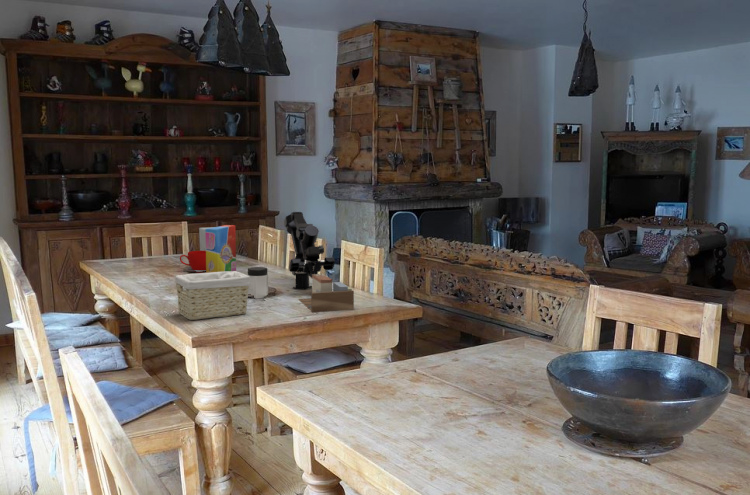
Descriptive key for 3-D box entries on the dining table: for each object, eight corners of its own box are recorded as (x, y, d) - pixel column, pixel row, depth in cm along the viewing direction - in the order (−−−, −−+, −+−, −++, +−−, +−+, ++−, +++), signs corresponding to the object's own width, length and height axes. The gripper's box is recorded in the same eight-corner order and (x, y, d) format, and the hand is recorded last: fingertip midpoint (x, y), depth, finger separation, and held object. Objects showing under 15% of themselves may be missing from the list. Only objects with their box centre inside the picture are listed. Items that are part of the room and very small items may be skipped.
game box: (217, 291, 290) (216, 229, 286) (206, 290, 291) (204, 228, 287) (236, 282, 310) (235, 224, 306) (225, 282, 311) (224, 224, 308)
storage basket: (236, 306, 259) (235, 269, 258) (252, 314, 246) (251, 275, 244) (174, 314, 246) (173, 274, 244) (188, 322, 233) (187, 281, 231)
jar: (243, 297, 277) (242, 268, 275) (255, 294, 284) (255, 266, 282) (260, 299, 272) (259, 270, 271) (272, 296, 280) (272, 268, 278)
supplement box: (228, 258, 389) (227, 228, 387) (205, 259, 383) (205, 229, 380) (221, 255, 401) (220, 226, 398) (199, 257, 394) (198, 227, 392)
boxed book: (312, 298, 270) (312, 274, 269) (323, 298, 271) (323, 273, 270) (320, 305, 257) (320, 280, 255) (332, 304, 258) (332, 279, 257)
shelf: (298, 301, 269) (297, 282, 268) (336, 299, 274) (336, 280, 273) (312, 314, 246) (312, 293, 245) (353, 311, 251) (353, 291, 250)
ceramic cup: (179, 270, 345) (179, 251, 343) (213, 269, 350) (212, 250, 348) (180, 274, 332) (179, 254, 331) (215, 272, 337) (214, 253, 336)
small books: (333, 303, 260) (333, 282, 259) (344, 303, 262) (344, 281, 261) (340, 309, 251) (340, 286, 250) (351, 308, 252) (351, 286, 251)
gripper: (290, 239, 273) (295, 270, 264) (333, 238, 279) (341, 268, 270) (286, 256, 282) (292, 286, 273) (329, 254, 288) (336, 283, 279)
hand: (315, 280), depth 273 cm, fingers closed
